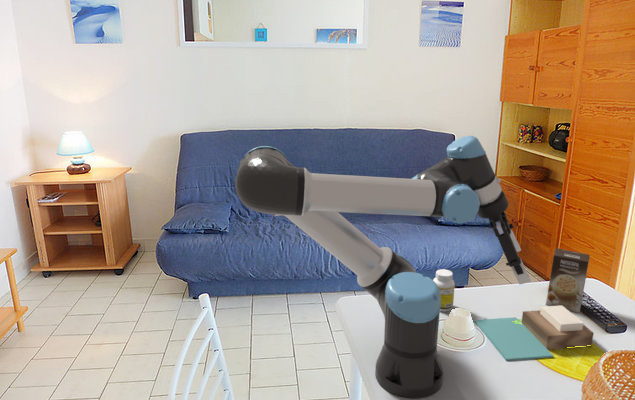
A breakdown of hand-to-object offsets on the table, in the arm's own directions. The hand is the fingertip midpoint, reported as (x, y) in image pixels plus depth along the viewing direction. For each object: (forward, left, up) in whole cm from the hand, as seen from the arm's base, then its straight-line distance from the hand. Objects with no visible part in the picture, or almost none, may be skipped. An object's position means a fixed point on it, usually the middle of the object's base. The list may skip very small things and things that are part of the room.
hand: (520, 266), depth 119 cm
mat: (-1, -1, -20) cm, 20 cm away
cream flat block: (+12, -1, -16) cm, 20 cm away
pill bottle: (-13, +17, -20) cm, 29 cm away
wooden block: (+11, -1, -20) cm, 23 cm away
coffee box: (+23, +14, -20) cm, 34 cm away
